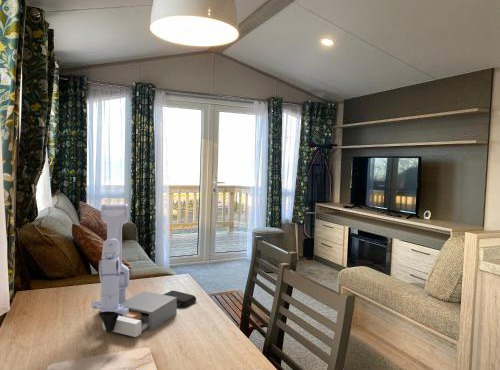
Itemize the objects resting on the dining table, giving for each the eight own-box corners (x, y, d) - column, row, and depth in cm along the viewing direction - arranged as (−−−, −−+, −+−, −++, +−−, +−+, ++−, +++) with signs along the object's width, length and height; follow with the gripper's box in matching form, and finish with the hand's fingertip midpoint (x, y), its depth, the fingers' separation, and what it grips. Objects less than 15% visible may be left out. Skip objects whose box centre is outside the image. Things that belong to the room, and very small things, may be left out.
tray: (102, 329, 134) (102, 316, 134) (128, 315, 146) (128, 303, 146) (135, 337, 128) (135, 324, 128) (159, 321, 141) (159, 309, 141)
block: (122, 325, 136) (122, 314, 136) (131, 320, 140) (131, 310, 140) (132, 328, 134) (132, 317, 134) (140, 323, 139) (141, 312, 138)
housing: (116, 322, 141) (116, 304, 141) (143, 307, 156) (143, 291, 156) (151, 330, 135) (151, 312, 135) (176, 314, 150) (176, 297, 150)
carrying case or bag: (155, 303, 162) (182, 310, 155) (155, 296, 162) (182, 303, 154) (172, 295, 171) (198, 301, 164) (172, 288, 171) (198, 295, 164)
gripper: (84, 293, 128) (85, 332, 129) (118, 300, 123) (118, 340, 124) (100, 287, 135) (100, 324, 136) (132, 293, 129) (133, 331, 130)
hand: (110, 331), depth 130 cm, fingers closed, pressing on tray
